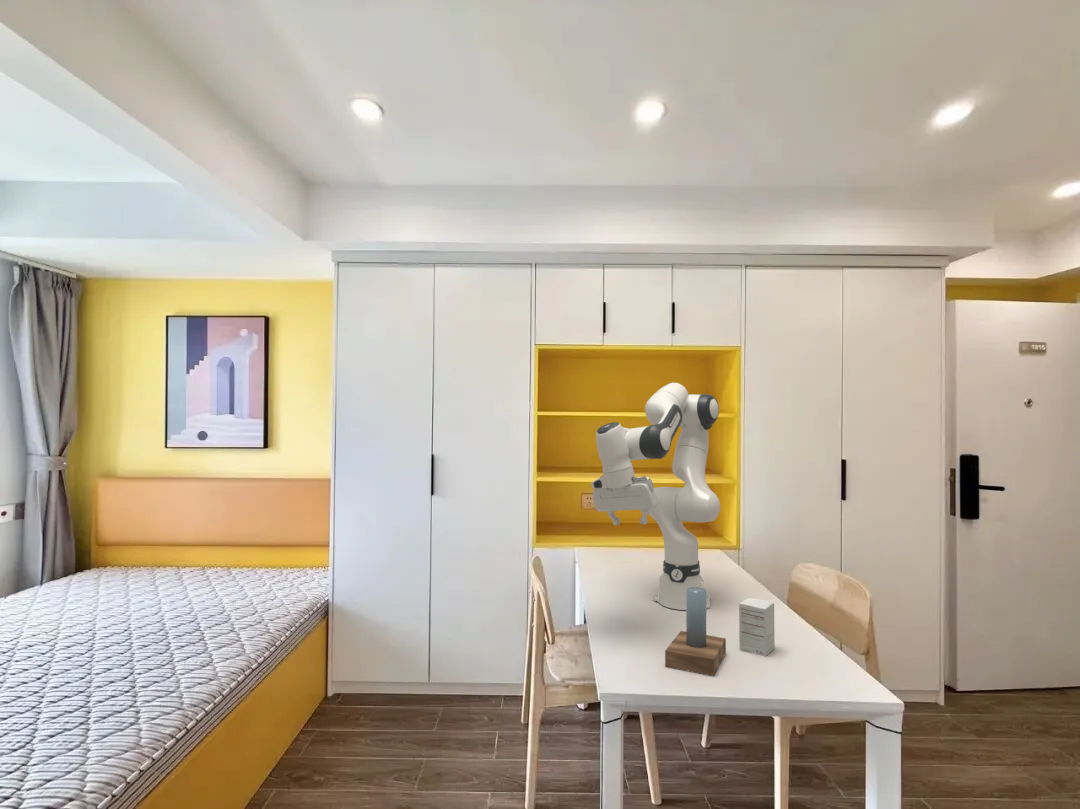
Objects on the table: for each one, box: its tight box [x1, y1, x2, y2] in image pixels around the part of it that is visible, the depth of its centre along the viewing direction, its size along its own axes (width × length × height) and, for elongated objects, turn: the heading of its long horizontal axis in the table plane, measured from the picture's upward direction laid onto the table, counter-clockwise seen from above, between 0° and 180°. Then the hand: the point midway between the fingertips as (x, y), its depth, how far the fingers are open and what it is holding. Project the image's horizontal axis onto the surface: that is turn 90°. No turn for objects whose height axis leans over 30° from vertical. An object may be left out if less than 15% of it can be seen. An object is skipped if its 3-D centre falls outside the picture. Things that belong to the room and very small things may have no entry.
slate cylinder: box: [685, 587, 707, 648], centre depth 157 cm, size 5×5×14 cm
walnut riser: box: [664, 630, 727, 677], centre depth 157 cm, size 16×12×4 cm
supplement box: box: [738, 597, 776, 657], centre depth 164 cm, size 7×7×13 cm
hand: (630, 524), depth 177 cm, fingers open, 8 cm apart
